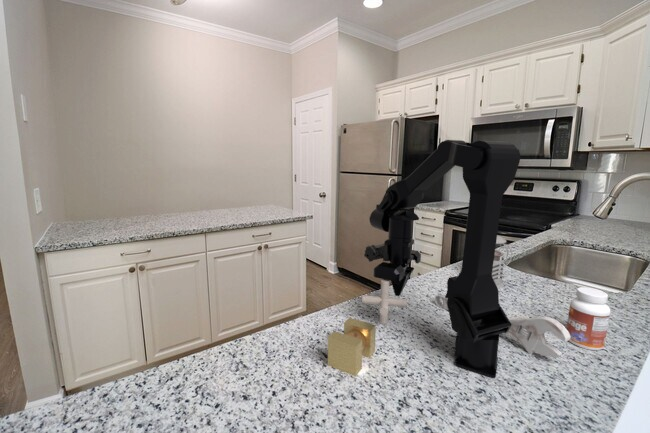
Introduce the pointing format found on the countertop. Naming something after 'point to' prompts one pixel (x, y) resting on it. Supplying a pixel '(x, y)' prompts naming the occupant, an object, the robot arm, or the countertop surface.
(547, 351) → the wrench
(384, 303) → the pipe connector
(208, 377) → the countertop surface
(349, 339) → the square-ended brass dumbbell
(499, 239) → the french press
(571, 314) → the pill bottle
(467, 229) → the robot arm
